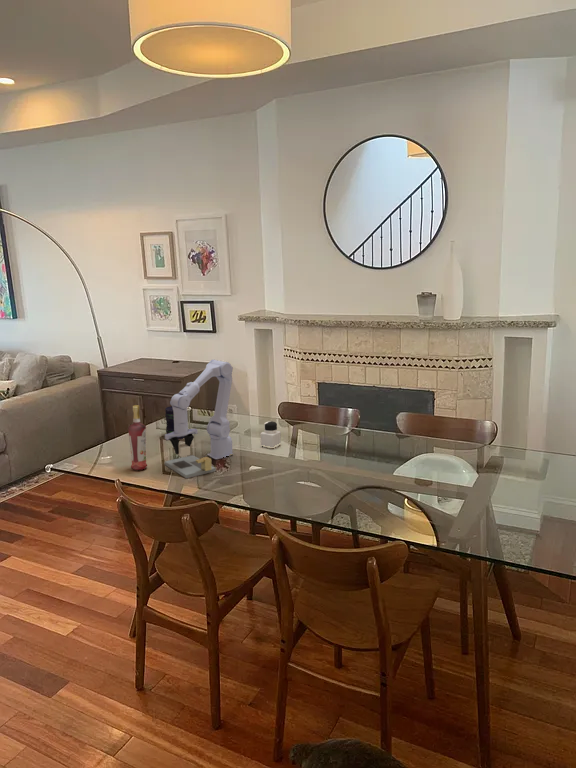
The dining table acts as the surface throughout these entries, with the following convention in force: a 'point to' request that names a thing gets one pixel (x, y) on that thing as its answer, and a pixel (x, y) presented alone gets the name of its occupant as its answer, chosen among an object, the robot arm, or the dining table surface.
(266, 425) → the medicine bottle
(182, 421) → the robot arm
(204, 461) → the wooden l-shaped block
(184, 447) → the cover
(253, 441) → the dining table surface
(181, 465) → the panel
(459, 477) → the dining table surface
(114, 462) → the dining table surface
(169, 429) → the storage jar
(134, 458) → the liquor
